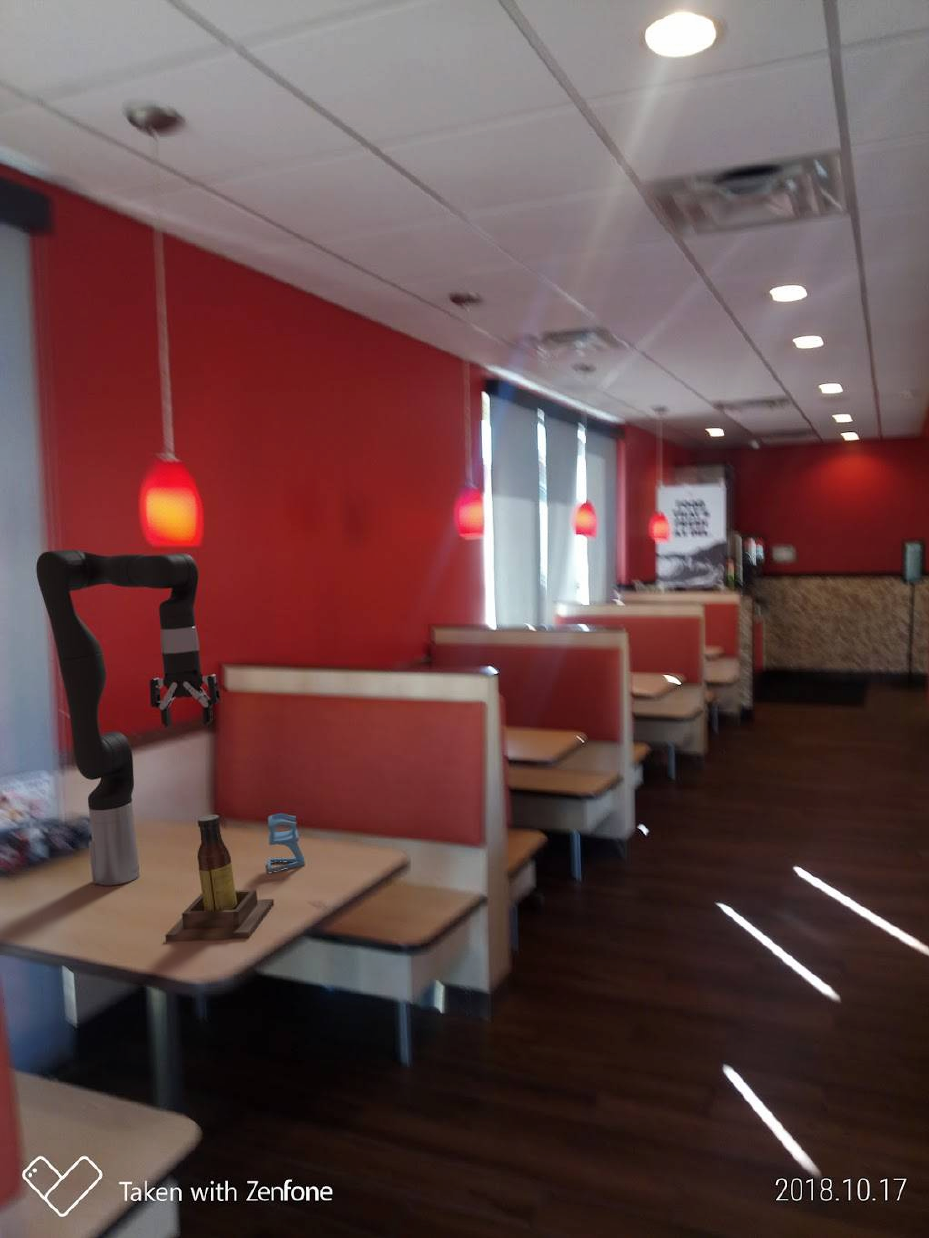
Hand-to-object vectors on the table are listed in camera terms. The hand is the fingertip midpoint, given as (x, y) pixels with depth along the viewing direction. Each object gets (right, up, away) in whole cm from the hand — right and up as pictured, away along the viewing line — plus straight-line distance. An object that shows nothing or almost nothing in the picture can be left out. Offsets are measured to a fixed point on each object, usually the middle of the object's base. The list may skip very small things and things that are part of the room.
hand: (188, 725), depth 198 cm
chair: (+18, -34, +16) cm, 41 cm away
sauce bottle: (+11, -36, -15) cm, 40 cm away
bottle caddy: (+11, -37, -15) cm, 41 cm away
